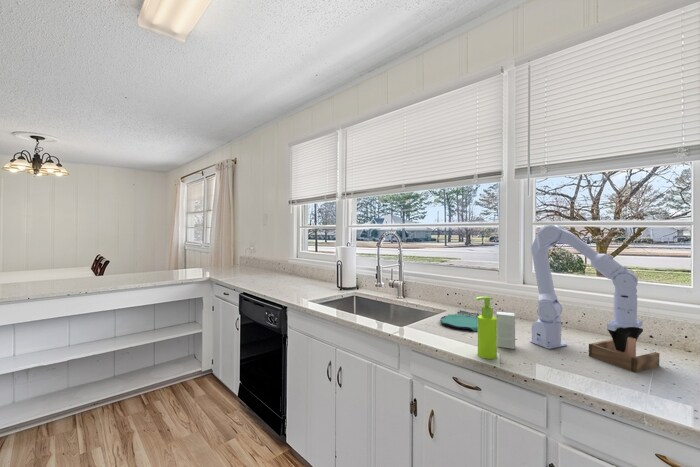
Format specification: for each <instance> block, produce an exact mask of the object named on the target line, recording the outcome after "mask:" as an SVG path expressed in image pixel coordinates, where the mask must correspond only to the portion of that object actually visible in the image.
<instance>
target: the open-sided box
mask: <svg viewBox="0 0 700 467" xmlns="http://www.w3.org/2000/svg"><path fill="white" fill-rule="evenodd" d="M588 356H589V357H590V358H594V359H597V360H600V361H602V362H606V363H608V364H610V365H614V366H616V367H619V368H621V369H624V370H627V371H630V372H633V373H637V372H641V371H642V372H643V371H646V370H649V369H654V368H657V367H660V353H659V352H657V351H654V352H650V353H645V354H642V355H638V356H637V355H636V357H631V356H628V355H625V354H621V353H618V352H615V351H614V342H613V339H612V338H611V339H606V340H601V341H597V342H591V343H588Z"/></svg>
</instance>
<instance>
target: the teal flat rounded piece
mask: <svg viewBox="0 0 700 467" xmlns="http://www.w3.org/2000/svg"><path fill="white" fill-rule="evenodd" d="M479 315H482V313H479V312H477V313H476V312H469V311H465V310H461V309H459V311H457V312H456V313H453V314H447V315H444V316H442V317H440V320H439V322H440V323H441V324H442V325H447V326H450V327H453V328H457V329H463V330H465V329H466V330H472V331H473V332H474V333H476V332H477V333H478V316H479Z"/></svg>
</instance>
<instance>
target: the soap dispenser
mask: <svg viewBox="0 0 700 467" xmlns="http://www.w3.org/2000/svg"><path fill="white" fill-rule="evenodd" d="M474 299H475V300H476V301H480V300H481V301H482V300H484V304H483V305H482V306H481V314H482V315H479V316H478V317H477V318H478V331H477V356H478V357H480V358H482V357H483V359H485V358H487V359H486V360H495V359H496V358H497V356H498V355H497V353H498V352H497V350H498V349H497V348H498V347H497V316H494V314H493V311H494V309H493V308H494V307H493V306H492V305H491V300H493V297H491V296H487V295H486V296H483V295H481V296H480V295H479V296H476V297H474ZM494 358H495V359H494Z"/></svg>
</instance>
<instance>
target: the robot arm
mask: <svg viewBox="0 0 700 467" xmlns="http://www.w3.org/2000/svg"><path fill="white" fill-rule="evenodd" d="M557 243H558V244H563V245H568V246H570V247H571V248H573V249H574V250H575V251H577V252H578V253H580V254H581V255H582V256H583V257H585V258H587V259H589V260H590V266H591V267H592V268H593V269H594V270H596V271H597V272H598V273H601V275H603V276H604V277H605V278H607V279H608V280H611V281H612V285H613V286H614V293H613V319H612V320H611V321H610V322H607V323H606V330H607V331H608V333H609V335H610V337H611V339H613V342H614V345H615V348H616V350H618V351H621V352H624V351H625V348H626V342H627V339H628V337H632V338H636V342H637V341H638V339H639V337H640V336H641V334H642V333H643V332H644V329H643V328H642V326H643V319H640V318H638V294H637V292H638V289H637V286H638V282H639V278H638V276H637V275H636V273H634V271H632V270H630V269H629V268H628V267H627V266H626V265H625V266H624V265H622V264H620V263H619V262H618V261H616V260H615V259H614V258H615V257H614V256H613V255H611V254H609V255H608V254H607V253H598V252H597V251H596V250H594V249H593V248H592V247H591V246H590V245H588V243H586V242H585V241H583V240H582V239H581V238H579V237H578V236H577V235H576V234H574V233H573V232H572V231H570V230H568V229H565V228H564V227H563V226H561V225H559V224H546V225H544V226H542V227H541V228H540V229H539V230H538V231H537V232H536V236H535V238H534V240H533V242H532V245H531V248H530V251H531V255H532V262H533V266H534V272H535V278H536V284H537V285H536V286H537V288H538V299H537V302H538V304H537V305H538V306H537V308H536V313H537V316H538V318H537V320H536V321H534V322H533V323H532V324H531V339H530V340H529V342H530V343H532V344H535V345H537V346H540V347H542V348H545V349H548V350H549V349H556V348H560V347H561V348H562V347H566V346H568V344H567V343H565V342H563V341H562V319H561V317H560V315H561V314H562V313H563V306H562V304H561V303H560V302H559V299H558V296H557V294H556V292H555V287H554V281H553V275H552V270H551V266H550V265H551V264H550V259H549V255H548V254H549V253H548V251H549V249H550V248H551V247H552V246H554V245H555V244H557Z"/></svg>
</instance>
